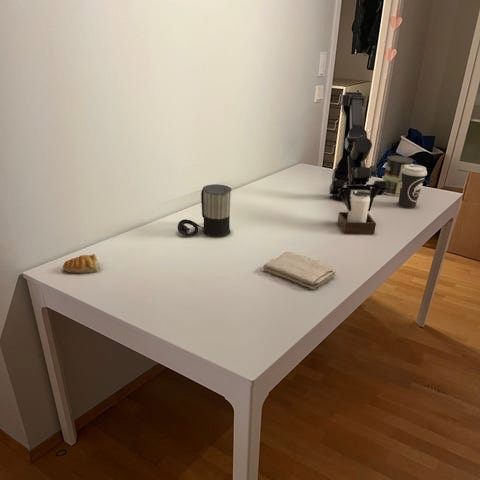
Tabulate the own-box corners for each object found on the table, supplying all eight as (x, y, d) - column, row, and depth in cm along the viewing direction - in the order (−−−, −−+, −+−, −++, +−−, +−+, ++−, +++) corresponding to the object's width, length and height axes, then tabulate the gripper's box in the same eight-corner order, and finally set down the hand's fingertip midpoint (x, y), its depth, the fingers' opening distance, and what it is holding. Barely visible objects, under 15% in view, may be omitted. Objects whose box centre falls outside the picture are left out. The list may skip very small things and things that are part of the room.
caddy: (337, 222, 169) (338, 212, 167) (365, 223, 170) (367, 212, 168) (343, 233, 160) (345, 222, 158) (374, 234, 161) (376, 223, 159)
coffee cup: (416, 202, 192) (425, 164, 183) (421, 210, 183) (431, 171, 175) (392, 201, 192) (400, 163, 184) (396, 208, 184) (404, 169, 176)
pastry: (63, 276, 128) (61, 263, 126) (63, 265, 133) (61, 253, 131) (99, 272, 131) (98, 259, 129) (98, 262, 136) (96, 249, 134)
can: (353, 232, 161) (359, 197, 155) (342, 225, 166) (347, 191, 160) (368, 229, 164) (375, 195, 157) (356, 222, 169) (362, 189, 162)
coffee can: (382, 195, 198) (389, 160, 191) (379, 187, 207) (386, 154, 199) (407, 197, 197) (415, 162, 190) (403, 189, 206) (411, 156, 198)
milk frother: (236, 232, 158) (237, 188, 150) (201, 245, 148) (201, 199, 140) (206, 221, 166) (206, 179, 158) (172, 233, 156) (170, 188, 148)
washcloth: (315, 291, 125) (316, 281, 124) (260, 271, 135) (261, 261, 133) (337, 276, 133) (338, 266, 132) (284, 258, 142) (285, 248, 141)
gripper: (336, 155, 155) (338, 199, 152) (391, 156, 156) (395, 200, 153) (328, 172, 166) (330, 214, 163) (380, 173, 167) (383, 215, 164)
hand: (359, 210), depth 160 cm, fingers closed on can, 6 cm apart
